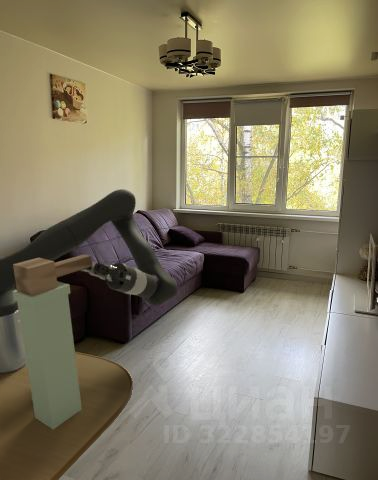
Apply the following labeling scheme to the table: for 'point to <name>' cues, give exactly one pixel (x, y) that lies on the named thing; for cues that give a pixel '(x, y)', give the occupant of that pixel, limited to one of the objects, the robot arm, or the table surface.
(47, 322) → the stand
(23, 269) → the mallet
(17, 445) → the table surface
